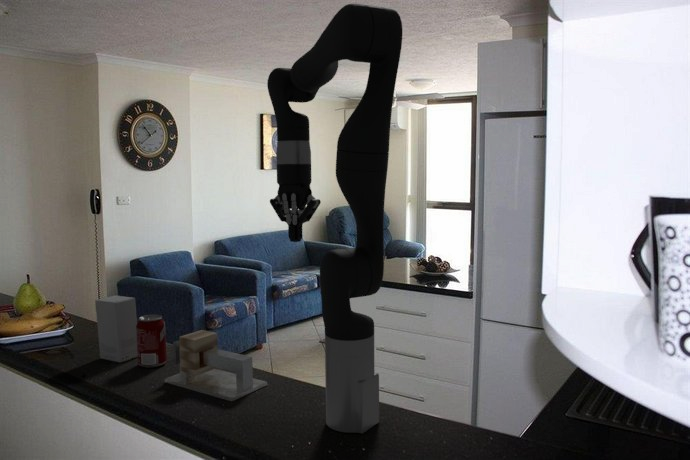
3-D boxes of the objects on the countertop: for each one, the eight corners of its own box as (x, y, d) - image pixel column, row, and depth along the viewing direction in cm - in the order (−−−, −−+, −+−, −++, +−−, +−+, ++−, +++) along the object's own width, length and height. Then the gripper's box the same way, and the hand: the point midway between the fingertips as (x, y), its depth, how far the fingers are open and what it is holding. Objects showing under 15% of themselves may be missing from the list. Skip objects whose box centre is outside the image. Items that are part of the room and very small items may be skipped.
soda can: (158, 370, 143) (156, 321, 142) (132, 368, 145) (130, 320, 144) (171, 361, 150) (169, 314, 149) (147, 359, 151) (145, 313, 150)
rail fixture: (267, 385, 133) (266, 348, 132) (231, 401, 123) (230, 361, 123) (200, 368, 144) (199, 334, 144) (163, 381, 135) (162, 345, 134)
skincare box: (140, 356, 154) (137, 297, 152) (118, 364, 148) (115, 302, 147) (119, 351, 158) (116, 294, 157) (97, 358, 153) (94, 299, 151)
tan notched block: (218, 367, 138) (217, 332, 137) (195, 375, 132) (194, 340, 131) (203, 363, 141) (202, 329, 140) (180, 371, 135) (179, 336, 134)
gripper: (328, 162, 129) (329, 241, 131) (281, 162, 136) (283, 238, 138) (307, 161, 123) (309, 245, 125) (259, 162, 130) (261, 241, 132)
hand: (295, 241), depth 131 cm, fingers closed
